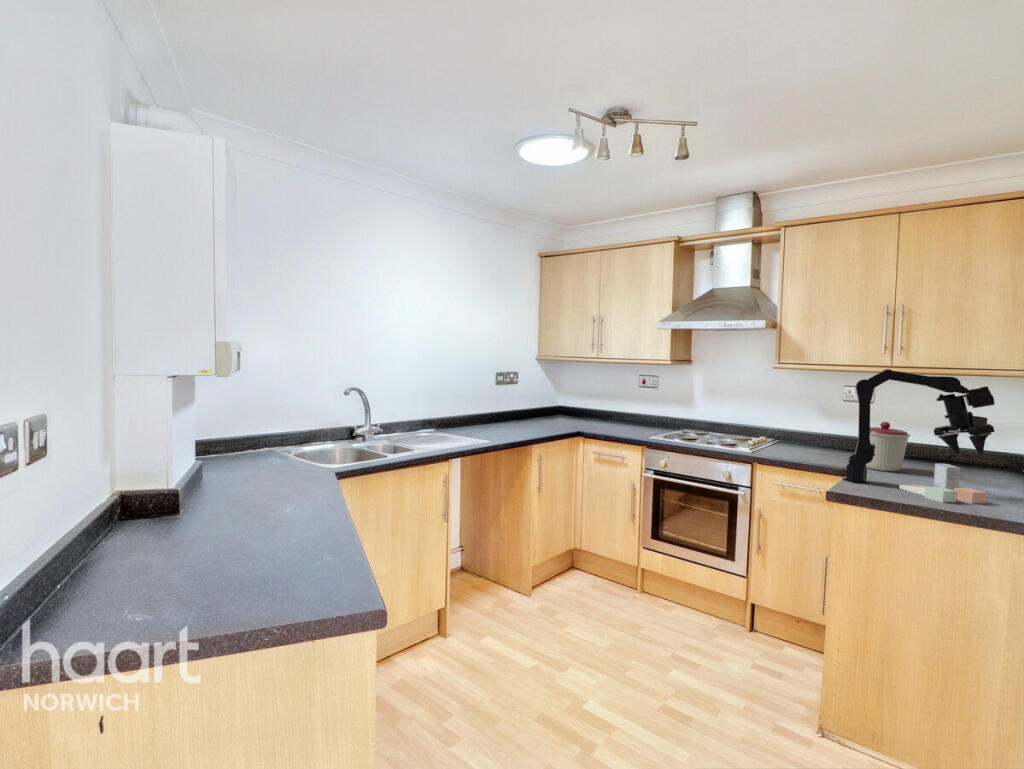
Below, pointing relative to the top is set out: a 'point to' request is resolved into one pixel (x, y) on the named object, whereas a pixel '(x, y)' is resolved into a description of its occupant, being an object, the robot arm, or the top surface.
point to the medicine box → (946, 476)
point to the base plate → (914, 488)
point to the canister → (887, 447)
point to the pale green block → (940, 494)
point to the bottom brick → (970, 495)
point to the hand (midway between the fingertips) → (969, 454)
